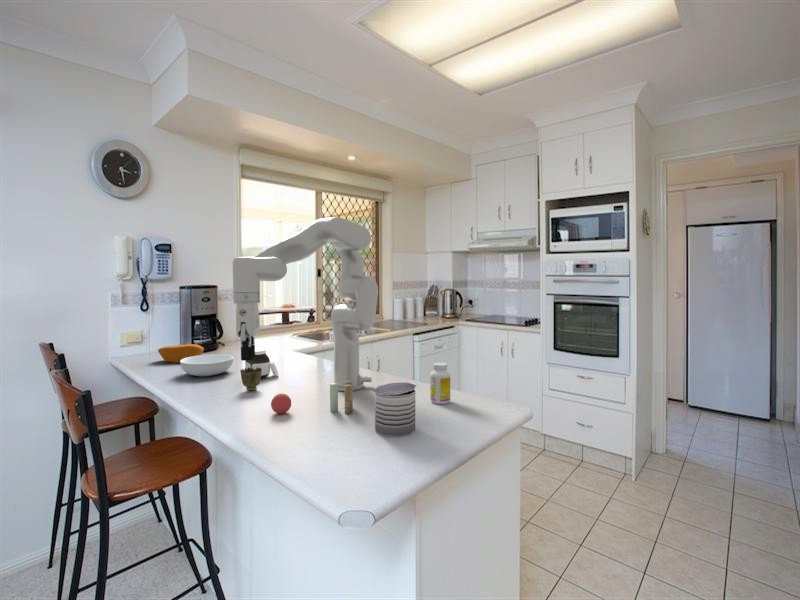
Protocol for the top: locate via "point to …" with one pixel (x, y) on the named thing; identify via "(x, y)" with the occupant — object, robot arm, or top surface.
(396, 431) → the can
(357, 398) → the top surface
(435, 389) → the supplement bottle
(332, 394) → the front pin
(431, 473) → the top surface
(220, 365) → the serving bowl
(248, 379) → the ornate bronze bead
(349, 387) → the pin
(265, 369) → the spread jar
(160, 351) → the bread
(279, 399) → the ball
